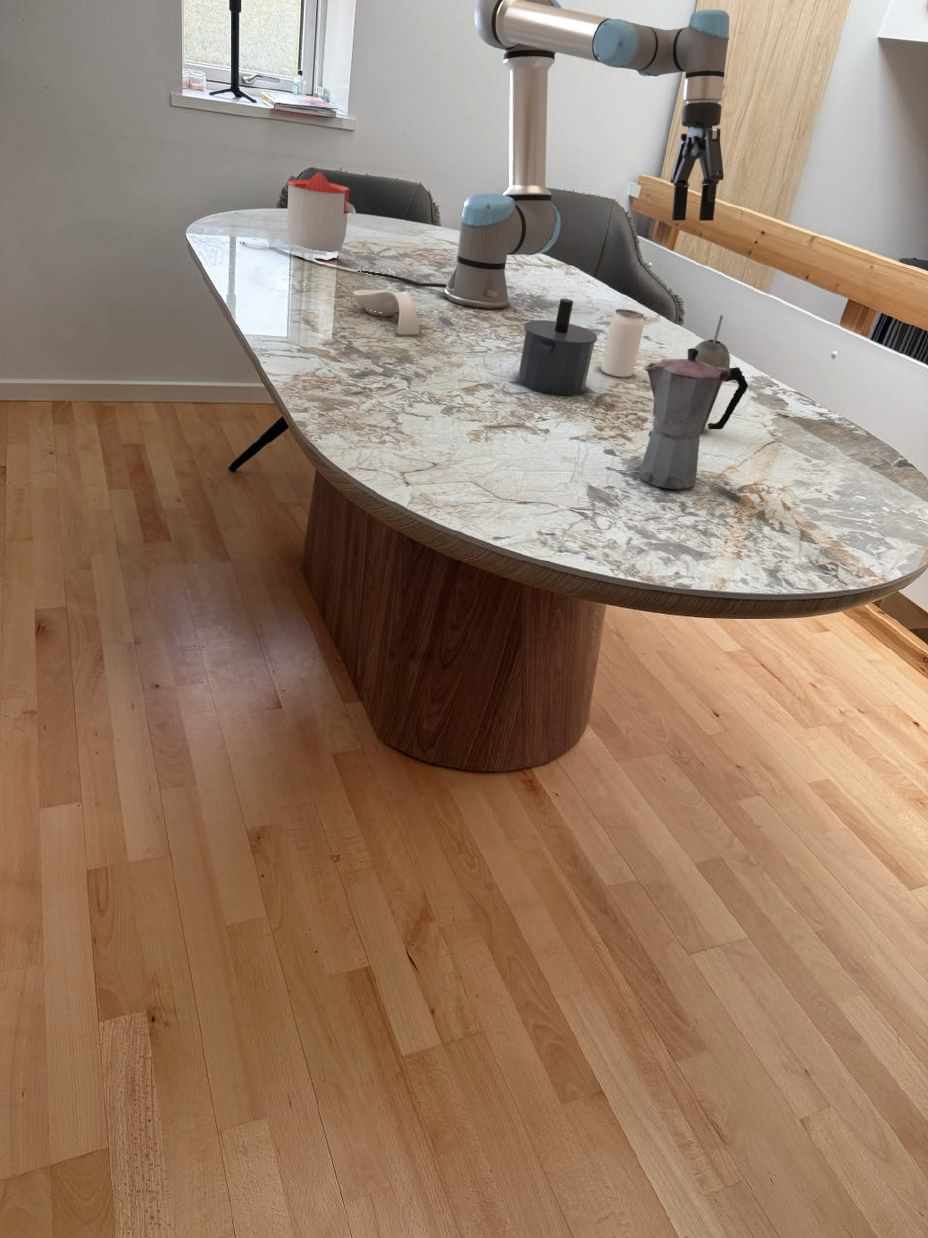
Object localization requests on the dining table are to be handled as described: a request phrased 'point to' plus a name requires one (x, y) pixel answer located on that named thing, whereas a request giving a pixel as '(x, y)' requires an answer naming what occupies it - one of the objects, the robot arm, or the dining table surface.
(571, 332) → the pot lid
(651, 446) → the moka pot
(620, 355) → the can
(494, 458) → the dining table surface
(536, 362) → the pot
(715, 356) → the beverage cup
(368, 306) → the beige curved piece
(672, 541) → the dining table surface
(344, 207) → the citrus juicer
